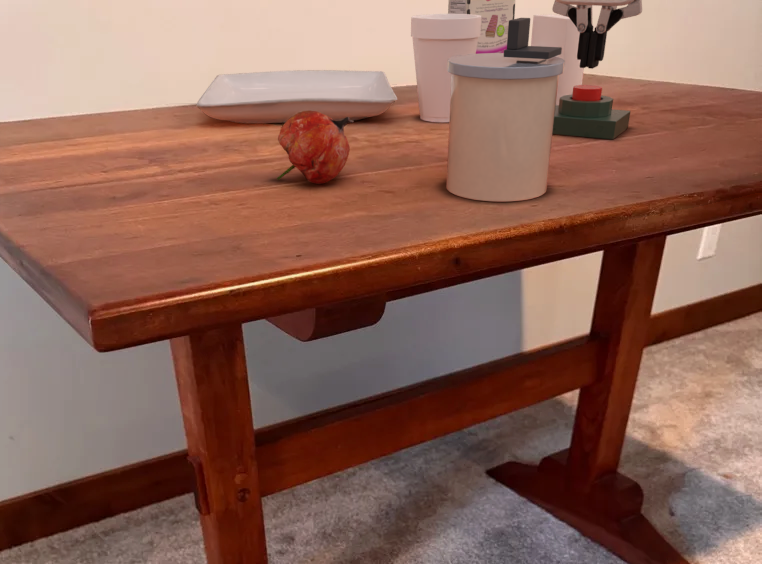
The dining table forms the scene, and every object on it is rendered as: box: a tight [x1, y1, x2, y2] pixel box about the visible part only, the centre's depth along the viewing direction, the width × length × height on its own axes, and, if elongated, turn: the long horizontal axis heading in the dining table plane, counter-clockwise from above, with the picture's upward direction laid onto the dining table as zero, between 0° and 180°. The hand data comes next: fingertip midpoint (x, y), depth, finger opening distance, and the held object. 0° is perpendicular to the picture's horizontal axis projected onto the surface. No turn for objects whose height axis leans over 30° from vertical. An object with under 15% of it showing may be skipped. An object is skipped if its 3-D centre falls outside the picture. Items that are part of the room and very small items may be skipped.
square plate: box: [196, 69, 398, 124], centre depth 119 cm, size 27×27×4 cm
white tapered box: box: [530, 13, 585, 105], centre depth 119 cm, size 9×9×12 cm
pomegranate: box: [276, 111, 355, 185], centre depth 82 cm, size 7×7×10 cm
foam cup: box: [410, 13, 481, 123], centre depth 110 cm, size 10×9×13 cm
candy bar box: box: [447, 0, 516, 54], centre depth 131 cm, size 11×5×16 cm, turn 129°
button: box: [572, 84, 603, 101], centre depth 102 cm, size 4×4×2 cm
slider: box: [504, 17, 562, 59], centre depth 73 cm, size 4×4×3 cm
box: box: [552, 94, 631, 141], centre depth 104 cm, size 10×8×4 cm
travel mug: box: [445, 53, 565, 203], centre depth 78 cm, size 11×11×12 cm
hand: (588, 66), depth 101 cm, fingers closed
